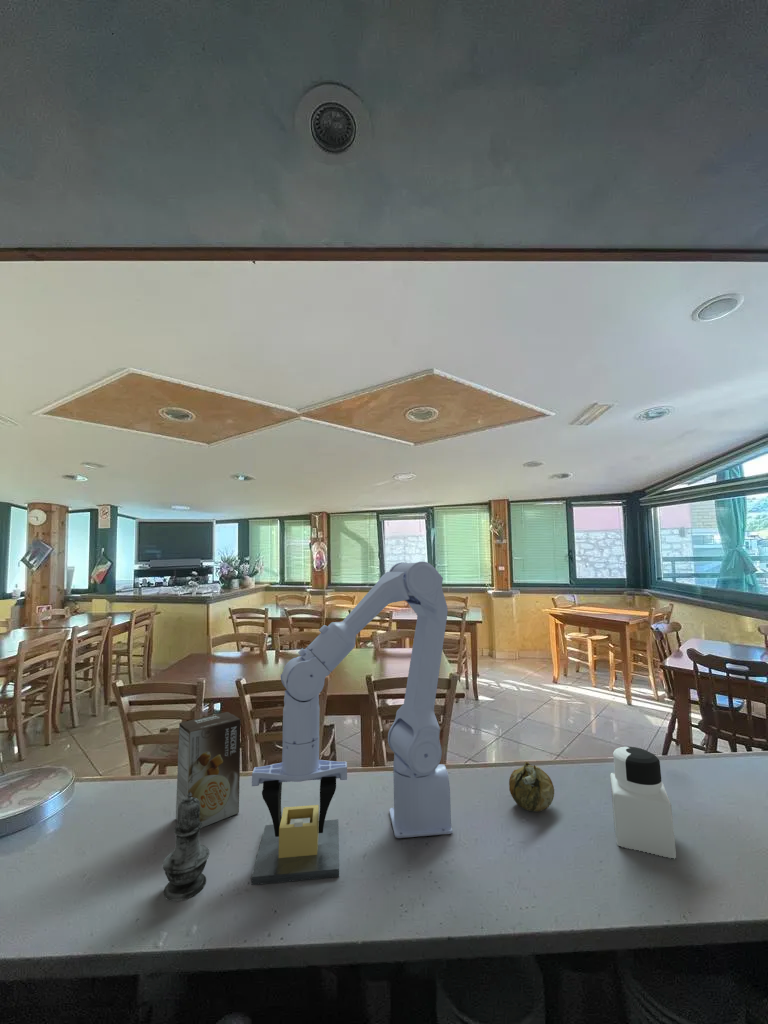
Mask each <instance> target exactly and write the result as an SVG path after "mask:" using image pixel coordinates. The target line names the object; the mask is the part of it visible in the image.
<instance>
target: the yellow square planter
mask: <svg viewBox="0 0 768 1024" xmlns="http://www.w3.org/2000/svg"><path fill="white" fill-rule="evenodd" d="M319 813H320V804H311V805H297V806H285V807H283V809H282V812H281V816H282V818H281V822H280V827H279V858H286V857H297V856H308V855H317V849H318V826H319ZM298 818H310V823H303V819H298ZM291 819H296V820H295V822H294V824H290V821H291Z"/></svg>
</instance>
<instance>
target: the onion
mask: <svg viewBox="0 0 768 1024" xmlns="http://www.w3.org/2000/svg"><path fill="white" fill-rule="evenodd" d="M508 781H509V782H508V787H509V792H510V793H509V794H510V796H511V797H512V799H513V801H514V802H515V803H516V805H518V806H519V808H521V809H523V810H525V811H529V812H537V813H539V812H542V811H544V810H546V809H548V808H549V807H550V806H551V804H552V803H553V800H554V797H555V787H554V784H553V781H552V779H551V776H549V775H548V773H546V772H545V771H544V770H543V769H542V768H540V767H539V766H537V765H535V764H534V765H532V764H531V763H530V762H529V761H525V762H524V764H523V766H521V767H519V768H517V769H513V771H512V772H511V774H510V776H509V780H508Z"/></svg>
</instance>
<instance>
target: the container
mask: <svg viewBox="0 0 768 1024" xmlns="http://www.w3.org/2000/svg"><path fill="white" fill-rule="evenodd" d="M612 755H613V756H612V757H613V770H614V772H611V773H610V774H609V777H610V788H611V789H610V790H611V800H612V801H611V802H612V814H613V816H612V817H613V825H614V832H615V841H616V845H617V846H618V845H619V846H622V847H621V848H623V847H626V848H625V849H628V848H630V849H629V850H632V849H634V850H633V851H636V850H639V851H638V852H640V851H643V852H642V853H645V852H647V853H646V854H649V853H651V854H650V855H653V854H655V856H658V855H659V857H662V856H663V858H666V857H668V858H667V859H671V858H674V859H673V860H676V859H677V852H676V851H677V850H676V841H675V831H674V821H673V810H672V804H671V801H670V799H669V796H668V793H667V790H666V787H665V785H664V782H663V781H662V771H661V761H660V759H659V758H658V756H657V755H656V754H654V753H652V752H651V751H648V750H646V749H644V748H640V747H636V746H621V747H617V748H615V749H614V751H613V753H612ZM619 846H618V847H619ZM635 849H636V850H635ZM675 858H676V859H675Z"/></svg>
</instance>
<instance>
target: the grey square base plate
mask: <svg viewBox="0 0 768 1024" xmlns="http://www.w3.org/2000/svg"><path fill="white" fill-rule="evenodd" d="M298 819H303V823H310V818H298ZM295 820H296V819H291V821H290V824H294V822H295ZM339 827H340V826H339V819H325V821H324V827H323V833H318V849H317V855H308V856H297V857H286V858H279V837H275V831H274V825H273V824H265V826H264V831H263V834H262V837H261V842H260V845H259V849H258V853H257V855H256V856H257V857H256V860H255V864H254V868H253V871H252V874H251V882H250V883H251V886H254V885H257V886H258V885H265V884H276V883H277V884H278V883H286V882H298V881H308V880H309V881H310V880H318V879H319V880H320V879H328V878H331V879H332V878H338V877H340V844H339V843H340V840H339V839H340V836H339V835H340V834H339V829H340V828H339Z"/></svg>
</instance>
